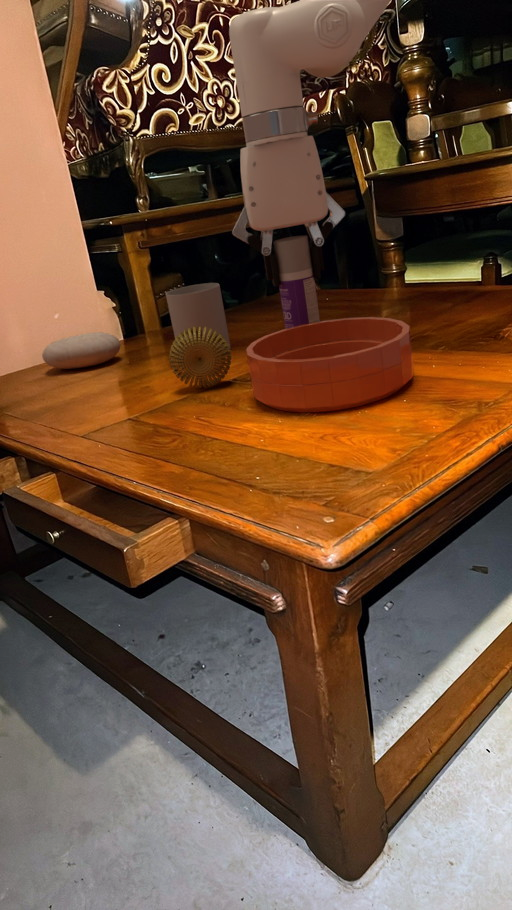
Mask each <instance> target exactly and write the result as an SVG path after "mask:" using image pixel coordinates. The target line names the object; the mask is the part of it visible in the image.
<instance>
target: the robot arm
mask: <svg viewBox="0 0 512 910" xmlns="http://www.w3.org/2000/svg"><path fill="white" fill-rule="evenodd" d="M391 2H392V0H297V1H295V2H291V3H289V4H285V5H282V6H279V7H278V6H268V7H261V8H256V9H251V10H248V11H245V12H242V13H241V14H239V15H237V16H236V17H234V18H233V19H232V20H231V22H230V25H229V29H228V36H229V43H230V47H231V48H230V49H231V56H232V63H233V69H234V75H235V82H236V88H237V94H238V100H239V107H240V113H241V121H242V128H243V134H244V140H245V147H241V148H240V154H239V156H240V157H239V158H240V159H239V162H240V179H241V189H242V199H243V204H244V205H243V208H242V210H241V212H240V214H239V215H238V218H237V220H236V222H235V224H234V226H233V228H232V231H231V234H232V235H233V236H234V237H236V238H237V239H239V240H240V241H242V242H244V243H246V244H248V245H250V246H251V247H252V248H253V249H254V250H256V251H258V252H259V253H260V254H262V257H263V262H264V269H265V275H266V276H265V277H266V280H267V281H271V283H272V285H273V287H275V288H277V287H279V285H280V280H279V273H278V266H277V260H276V255H275V252H274V249H273V248H272V244H273V235H274V230H278V229H283V228H289V227H294V226H295V227H296V226H301V225H304V227H305V229H306V231H307V234H308V237H309V239H310V241H309V248H310V254H311V260H312V267H313V273H314V279H316V280H320V279H321V280H322V274H321V272H323V271H325V262H324V254H323V245H324V243H325V241H326V240H327V238H328V237H329V235H330V234H331V232H332V231H333V229H334V228H335V227H336V226H337V225H338V224H339V223H340V222H341V221H342V220H343V218H344V217H345V216H346V211H345V210H344V209H343V208H342V207H341V206H340V205H339V204H338V203H337V202H336V201H335V200H334V198H332V196H331V195H330V194H329V193H328V192H327V190H326V189H327V188H326V185H325V179H324V174H323V170H322V164H321V160H320V156H319V152H318V149H317V145H316V141H315V138H314V136H313V135H308V131H309V128H310V127H312V126H313V125H317V124H318V122H319V119H318V113H317V111H312V112H311V111H308V110H306V106H304V99H303V98H304V97H303V90H302V81H301V71H302V70H304V71H305V72H306V73H308V74H309V75H311V76H313V77H316V78H321V79H323V78H324V79H325V78H330V77H335V76H337V75H338V74H339V73H341V72H343V70H344V69H346V67H347V66H348V65H349V64H350V62H351V61H352V60H353V59H354V57H356V55H357V53H358V52H359V50H360V49H361V47H362V44H363V42H364V41H365V39H366V38H367V36H368V35H369V33H370V31H371V30H372V29H373V28H374V26H375V24H376V23H377V21H378V20H379V18H380V17H381V16H382V14H383V13H384V12H385V10H386V8H387V7H388V6H389V4H390V3H391ZM328 213H329V217H327V215H328ZM326 217H327V218H326ZM324 218H326V220H324V222H322V224H321V225H320V227H319V224H318V222H319V221H322V220H323V219H324ZM247 225H248V226H249V227H250V228H251V229H252V230H254V231H259V232H260V238H259V237H257V236H256V235H253V234H252V233H251V232H248V231H247V230H246V227H247Z"/></svg>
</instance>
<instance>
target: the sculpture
mask: <svg viewBox="0 0 512 910" xmlns="http://www.w3.org/2000/svg"><path fill="white" fill-rule="evenodd" d="M206 330H207V327H205V326H204V330H203V335H202V326H199V328H198V329H197V327H193V329H192V328H191V327H190V328H188V330H184V331H183V333H182V332H181V333H180V334H179V336H177V337H176V338H175V337H174V340H172V344H171V345H170V350H169V352H168V353H169V356H168V359H169V365H170V368H171V370H173V374H174V375H176V378H177V379H179V380H180V382H184V384H185V385H188V386H189V387H192V386H193V388H196V389H197V387H198V388H199V389H202V388H204V389H205V388H206V389H207V388H208V387H212V386H213V385H217V384H218V383H221V381H222V380H223V379H224V378H225V377H226V376H227V374H228V372H229V371H230V368H231V365H232V361H231V360H232V350H231V349H230V347H229V345H227V344H228V342H227V341H224V339H225V338H224V337H221V334H220V333H218V334H217V335H216V332H217V331H215V330H214V331H213V333H212V334H211V336H210V333H211V330H212V329H211V328H209V331H208V333H207V336H206ZM191 333H192V334H191ZM187 334H188V336H189V337H188V336H187ZM192 335H193V337H194V338H193V337H192ZM215 335H216V336H215ZM196 336H197V337H196ZM209 336H210V337H209ZM183 337H184V338H185V339H184V338H183ZM205 337H206V339H205ZM179 340H181V341H182V342H181V341H179ZM214 340H215V341H214ZM219 341H220V342H219ZM218 342H219V343H218ZM176 343H178V344H179V345H177V344H176ZM216 343H218V344H216ZM187 344H188V345H187ZM215 344H216V345H215ZM220 345H222V346H220ZM185 346H186V347H185ZM181 348H182V349H181ZM223 348H226V349H224V350H221V349H223ZM229 349H230V350H229ZM180 352H181V353H180ZM180 355H181V356H180ZM188 383H189V384H188ZM193 383H194V384H193Z"/></svg>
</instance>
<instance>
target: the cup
mask: <svg viewBox="0 0 512 910" xmlns="http://www.w3.org/2000/svg"><path fill="white" fill-rule="evenodd" d="M165 297H166V303H167V307H168V312H169V316H170V317H169V318H170V320H171V326H172V331H173V335H174V339H175V338H176V337H177V336H179V334H180V333H181V332H182V333H183V331H184V330H188V328H190V327H191V328H192V329H193V327H197V329H198V328H199V326H202V335H203V330H204V326H205V327H207V330H206V336H207V333H208V331H209V328H211V329H212V330H211V333H210V336H211V334H212V333H213V331H214V330H215V331H217V332H216V335H217V334H218V333H220V334H221V337H224V338H225V339H224V341H227V342H228V344H227V345H229V347H230V349H229V350H230V351H231V349H232V348H231V342H230V335H229V330H228V325H227V319H226V313H225V308H224V303H223V297H222V291H221V286H220V284H219V283H218V282H207V283H206V282H205V283H199V284H192V285H187V286H183V287H178V288H175V289H172V290H169V291H167V292H165ZM191 334H192V333H191ZM216 335H215V336H216ZM187 336H188V334H187ZM210 336H209V337H210ZM188 337H189V336H188ZM192 337H193V335H192ZM196 337H197V336H196ZM183 338H184V337H183ZM193 338H194V337H193ZM184 339H185V338H184ZM205 339H206V337H205ZM179 341H181V340H179ZM214 341H215V340H214ZM181 342H182V341H181ZM219 342H220V341H219ZM219 342H218V343H219ZM218 343H216V344H218ZM176 344H177V345H179V344H178V343H176ZM216 344H215V345H216ZM187 345H188V344H187ZM220 346H222V345H220ZM185 347H186V346H185ZM181 349H182V348H181ZM224 349H226V348H223V349H221V350H224ZM180 353H181V352H180ZM180 356H181V355H180Z"/></svg>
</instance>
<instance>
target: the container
mask: <svg viewBox="0 0 512 910" xmlns="http://www.w3.org/2000/svg"><path fill="white" fill-rule="evenodd" d="M309 247H310V241H309V235H307V234H305V235H296V236H289V237H283V238H279V239H276V240H273V248H274V249H273V251H274V254H275V255H276V260H277V266H278V273H279V280H280V285H279V286H278V287H279V294H280V302H281V308H282V315H283V322H284V327H285V328H284V329H288V328H291V327H295V326H299V325H304V324H309V323H315V322H321V319H320V312H319V303H318V297H317V288H316V281H315V278H314V273H313V267H312V260H311V254H310V248H309Z"/></svg>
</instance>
